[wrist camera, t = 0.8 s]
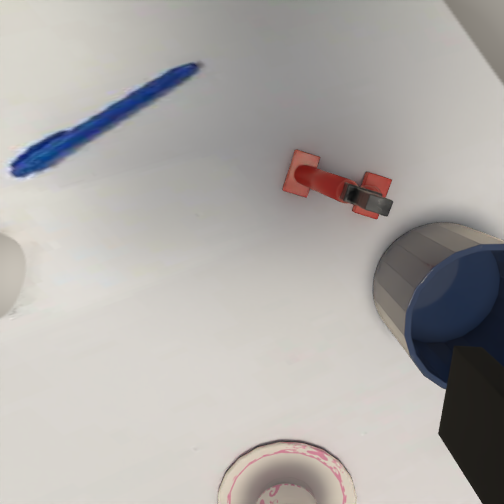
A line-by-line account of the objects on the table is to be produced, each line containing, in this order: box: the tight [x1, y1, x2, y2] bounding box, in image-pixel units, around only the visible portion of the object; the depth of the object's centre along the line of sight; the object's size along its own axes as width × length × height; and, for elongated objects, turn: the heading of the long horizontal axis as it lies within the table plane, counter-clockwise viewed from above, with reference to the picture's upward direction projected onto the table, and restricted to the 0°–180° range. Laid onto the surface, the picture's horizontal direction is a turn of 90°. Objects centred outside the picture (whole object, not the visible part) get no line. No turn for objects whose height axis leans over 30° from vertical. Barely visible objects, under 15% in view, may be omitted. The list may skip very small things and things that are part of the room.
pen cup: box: [373, 222, 504, 389], centre depth 31 cm, size 10×10×8 cm
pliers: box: [283, 150, 393, 219], centre depth 27 cm, size 3×7×12 cm, turn 73°
